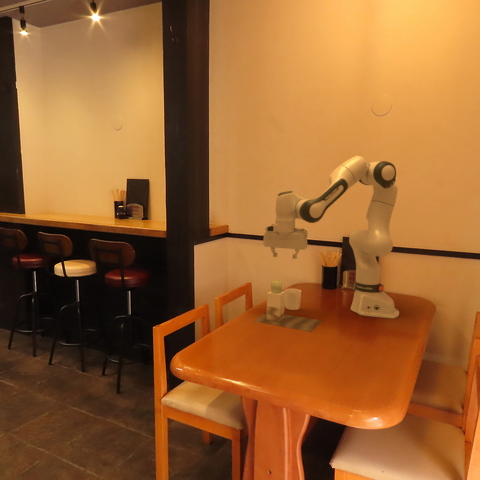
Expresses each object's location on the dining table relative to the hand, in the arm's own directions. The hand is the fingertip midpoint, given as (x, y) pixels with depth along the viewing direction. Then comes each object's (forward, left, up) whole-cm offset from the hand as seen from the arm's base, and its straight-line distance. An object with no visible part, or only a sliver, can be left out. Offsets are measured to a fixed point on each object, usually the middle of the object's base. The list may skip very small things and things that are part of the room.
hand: (284, 257), depth 190 cm
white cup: (-1, -9, -28) cm, 29 cm away
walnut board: (-6, +10, -27) cm, 30 cm away
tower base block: (0, +10, -26) cm, 28 cm away
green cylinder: (0, +10, -14) cm, 17 cm away
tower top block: (0, +10, -20) cm, 22 cm away
